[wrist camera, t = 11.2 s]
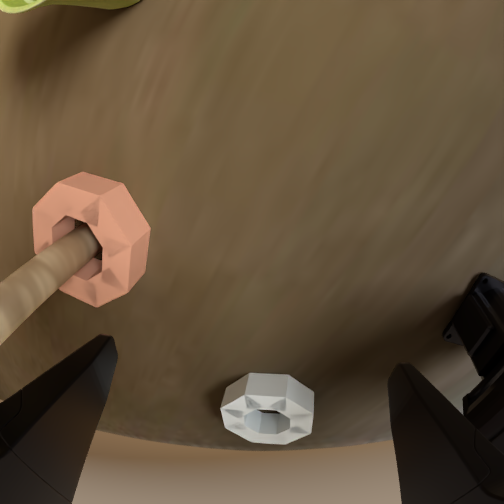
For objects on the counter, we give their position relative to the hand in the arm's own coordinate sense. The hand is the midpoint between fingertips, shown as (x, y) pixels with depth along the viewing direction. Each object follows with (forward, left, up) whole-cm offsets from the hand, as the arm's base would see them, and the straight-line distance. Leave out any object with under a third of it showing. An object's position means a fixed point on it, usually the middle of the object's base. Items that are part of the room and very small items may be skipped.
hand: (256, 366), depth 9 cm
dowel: (+13, +6, -13) cm, 19 cm away
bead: (-5, +18, -13) cm, 22 cm away
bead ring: (+13, +6, -13) cm, 19 cm away
